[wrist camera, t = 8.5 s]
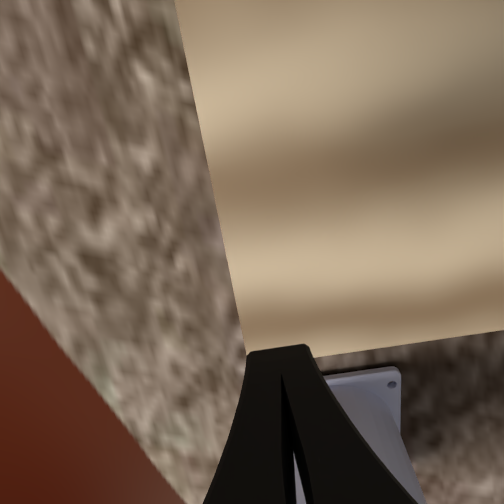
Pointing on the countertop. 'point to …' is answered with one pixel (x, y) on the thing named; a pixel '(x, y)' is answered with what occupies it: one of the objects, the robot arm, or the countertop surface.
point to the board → (354, 165)
